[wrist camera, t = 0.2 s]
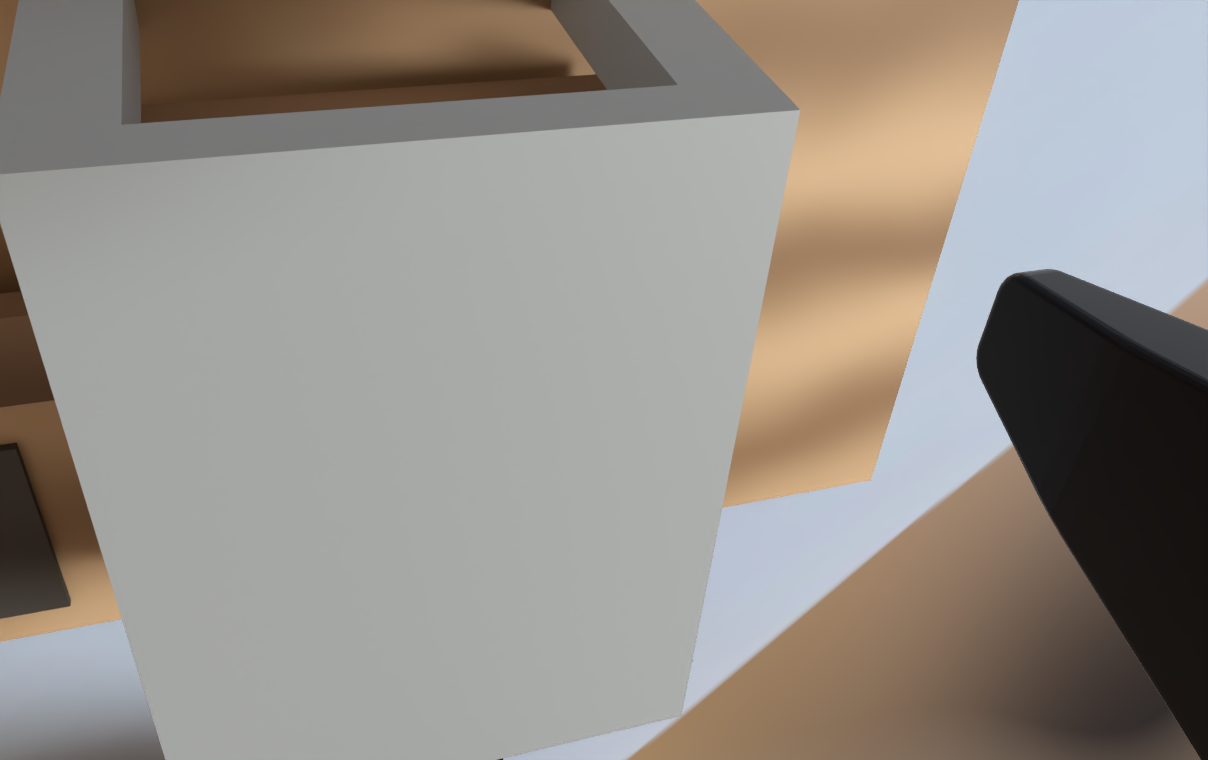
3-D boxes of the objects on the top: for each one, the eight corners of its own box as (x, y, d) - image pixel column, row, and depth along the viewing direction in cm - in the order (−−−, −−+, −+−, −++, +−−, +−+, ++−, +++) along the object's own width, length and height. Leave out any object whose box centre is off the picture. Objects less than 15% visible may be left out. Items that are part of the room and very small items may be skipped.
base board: (851, 453, 34) (874, 485, 33) (-777, 741, 23) (-818, 801, 22) (1040, -204, 23) (1082, -186, 22) (-1952, -222, 12) (-2141, -188, 11)
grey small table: (569, 450, 30) (681, 715, 24) (174, 515, 27) (187, 833, 21) (607, -90, 21) (800, 110, 15) (33, -76, 19) (-15, 175, 13)
